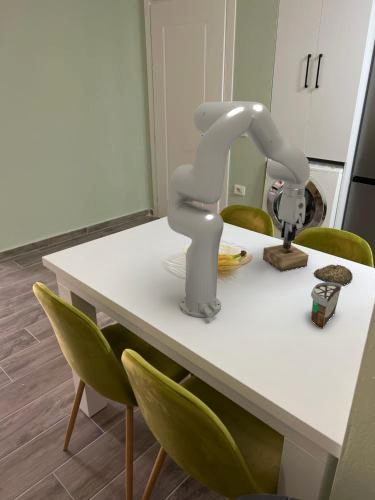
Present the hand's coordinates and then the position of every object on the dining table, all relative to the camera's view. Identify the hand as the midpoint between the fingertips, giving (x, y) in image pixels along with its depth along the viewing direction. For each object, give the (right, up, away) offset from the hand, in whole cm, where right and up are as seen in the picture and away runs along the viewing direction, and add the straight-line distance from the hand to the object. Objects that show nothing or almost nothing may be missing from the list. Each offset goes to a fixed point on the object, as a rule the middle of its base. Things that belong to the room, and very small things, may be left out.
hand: (287, 238), depth 142 cm
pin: (0, -3, +1) cm, 4 cm away
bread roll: (+15, -15, -6) cm, 22 cm away
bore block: (0, -9, +4) cm, 10 cm away
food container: (+1, -25, -30) cm, 39 cm away
